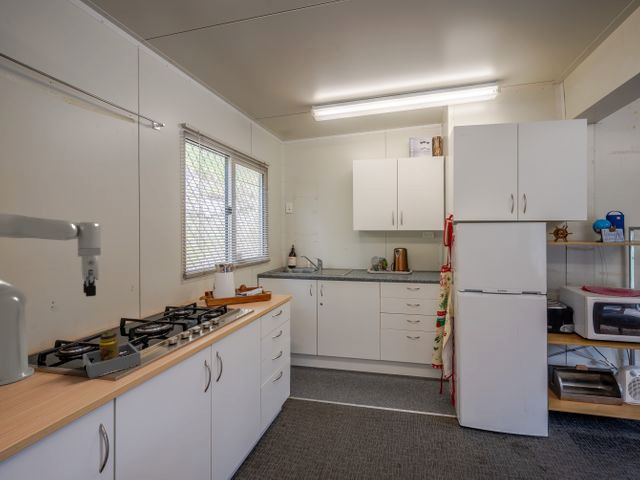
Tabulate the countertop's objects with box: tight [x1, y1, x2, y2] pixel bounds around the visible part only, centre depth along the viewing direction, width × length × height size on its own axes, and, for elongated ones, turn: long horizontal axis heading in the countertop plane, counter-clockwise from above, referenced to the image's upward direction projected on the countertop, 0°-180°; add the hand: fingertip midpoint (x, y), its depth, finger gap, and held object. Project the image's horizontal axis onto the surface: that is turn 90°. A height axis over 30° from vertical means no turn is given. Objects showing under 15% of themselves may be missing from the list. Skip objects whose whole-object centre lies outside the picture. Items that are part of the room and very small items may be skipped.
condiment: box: [98, 332, 119, 362], centre depth 121 cm, size 7×8×12 cm
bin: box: [82, 342, 142, 380], centre depth 120 cm, size 16×15×5 cm
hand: (89, 294), depth 126 cm, fingers open, 9 cm apart
